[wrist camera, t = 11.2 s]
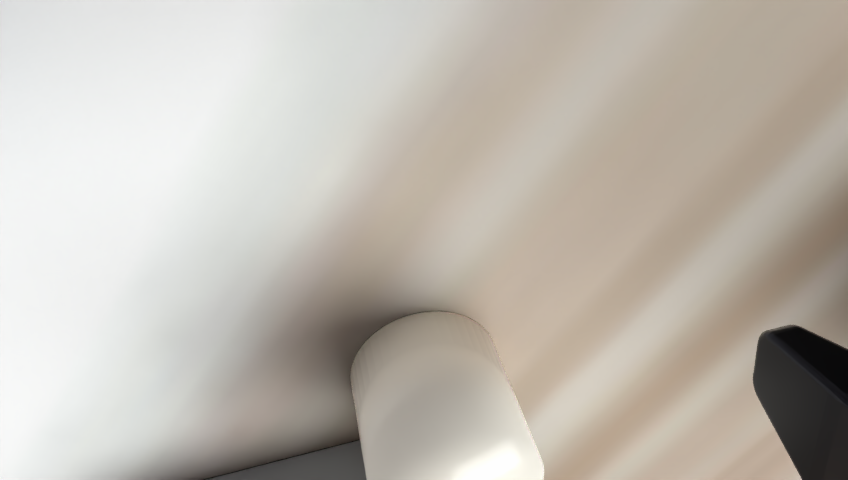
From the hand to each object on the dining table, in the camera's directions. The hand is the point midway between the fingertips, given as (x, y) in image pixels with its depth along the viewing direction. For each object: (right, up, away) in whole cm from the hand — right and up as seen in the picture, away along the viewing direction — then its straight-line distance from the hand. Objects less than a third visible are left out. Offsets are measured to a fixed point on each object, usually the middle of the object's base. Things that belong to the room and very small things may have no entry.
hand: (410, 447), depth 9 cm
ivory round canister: (0, -2, +16) cm, 16 cm away
